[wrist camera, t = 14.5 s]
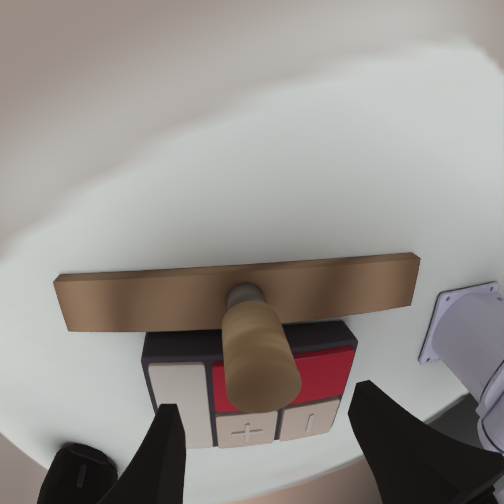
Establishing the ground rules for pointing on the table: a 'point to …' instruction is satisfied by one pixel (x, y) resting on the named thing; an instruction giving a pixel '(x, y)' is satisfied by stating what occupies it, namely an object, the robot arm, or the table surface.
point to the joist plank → (222, 280)
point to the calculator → (214, 387)
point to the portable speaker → (77, 477)
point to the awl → (256, 353)
